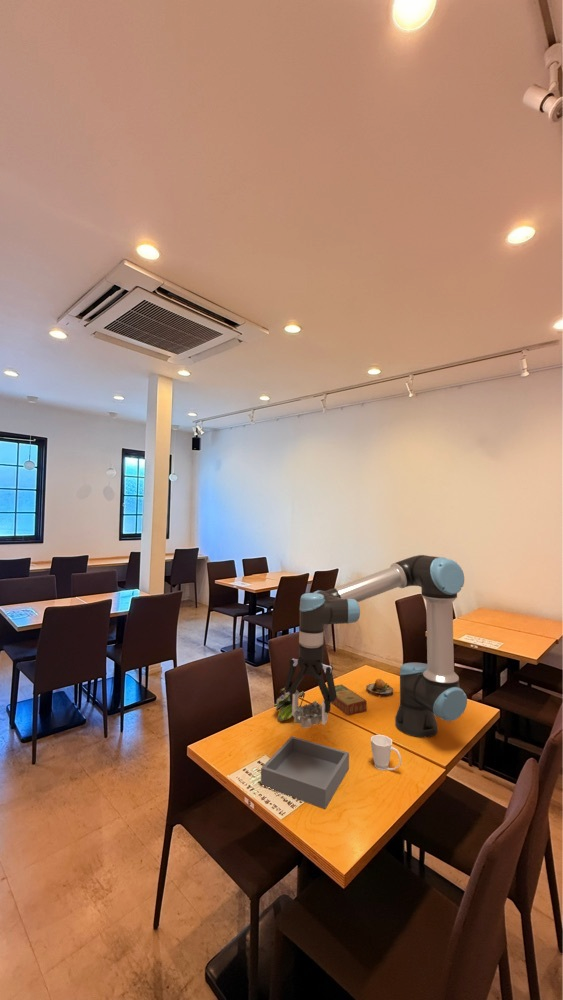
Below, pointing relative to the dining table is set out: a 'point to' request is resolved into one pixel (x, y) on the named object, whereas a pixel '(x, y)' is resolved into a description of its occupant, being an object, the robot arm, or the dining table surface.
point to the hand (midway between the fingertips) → (309, 718)
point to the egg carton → (308, 714)
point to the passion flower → (286, 705)
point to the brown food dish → (380, 689)
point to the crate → (306, 771)
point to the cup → (382, 752)
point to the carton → (349, 701)
